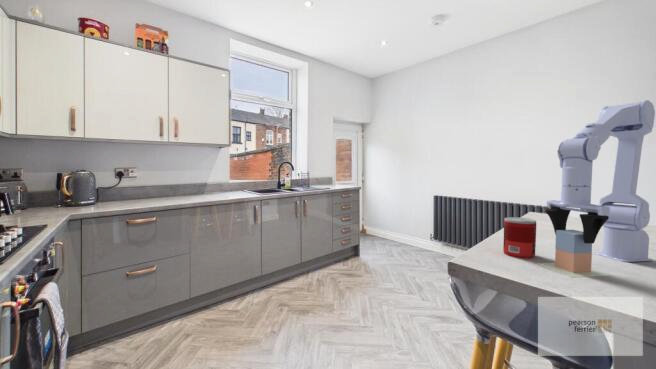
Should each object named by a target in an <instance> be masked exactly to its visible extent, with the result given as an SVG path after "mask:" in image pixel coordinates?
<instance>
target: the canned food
mask: <svg viewBox="0 0 656 369" xmlns="http://www.w3.org/2000/svg"><path fill="white" fill-rule="evenodd" d="M536 242H537V220H535V219H533V218H527V217H519V216H518V217H516V216H512V217H511V216H509V217H504V220H503V248H502V249H503V250H502V252H503V254H504V255H506V256H508V257H513V258H519V259H534V258H535V256H536V248H537V246H536V244H537V243H536Z"/></svg>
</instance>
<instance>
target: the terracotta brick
mask: <svg viewBox="0 0 656 369" xmlns="http://www.w3.org/2000/svg"><path fill="white" fill-rule="evenodd" d="M592 256H593V252H592V253H580V254H573V253H570V252H566V251H563V250H560V249H556V248H555V256H554V259H555V260H554V263H555V266H556V267H559V268H561V269H564V270H567V271H569V272H572V273H581V272H591V268H592V259H593V257H592Z"/></svg>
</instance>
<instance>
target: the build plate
mask: <svg viewBox="0 0 656 369" xmlns="http://www.w3.org/2000/svg"><path fill="white" fill-rule="evenodd" d="M536 264H537V265H539V266H541V267H544V268H547V269H549V270H552V271H554V272H557V273H560V274H563V275H565V276H568V277H570V278H586V277H587V278H590V277H605V276H612V274H611V273H607V272H606V271H605V272H604V271H603V270H602V271H601V270H598V269H596V268H593V267H591V272H581V273H572V272H569V271H567V270H564V269H561V268H559V267H556V266H555V262H541V263H540V262H539V263H536Z"/></svg>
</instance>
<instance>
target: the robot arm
mask: <svg viewBox="0 0 656 369" xmlns="http://www.w3.org/2000/svg"><path fill="white" fill-rule="evenodd" d="M655 116H656V111H655V106H654V104H653V102H651V101H650V100H648V99H646V100H643V101H635V102H632V103H631V102H629V103H624V104H617V105H610V106H607V105H606V106H603V107H602V109H600V110H599V114H598V120H597V121H596V122H591V123H587V124H585V126H584V127H583V128H582V129H581V130H580V131H579V132H578V133H576V134H575V135H574V136H573V137H572V138H567V139H565V140H563V141H561V142H560V144H559V145H558V147H557V148H558V149H557V156H558V159H559V166H560V168H561V171H562V172H561V188H560V189H561V192H560V196H561V197H560V200H556V199H555V200H554V199H551V200H549V199H547V200H546V209H545V213H546V214H547V216H548V217H549V219H550V221H551V225H552V227H553V231H554V234H555V236H556V230H567V223H568V222H567V221H568V219H569V216H570V213H571V211H573V212H578V213H580V214H579V218H580V220H581V224H582V232H583V240H584V243H587V244H589V243H592V244H595V241H596V239H597V236H598V235H599V232H600V230H601V229H602V227H603V236H602V238H603V239H602V251H601V252H600V251H598V252H597V251H594V252H593V255H597V256H600V257H604V258H608V259H610V260H615V261H618V262H623V263H632V262H633V263H635V262H651V261H653V259H652V258H649V248H650V247H649V246H650V245H649V244H650V238H649V234H648V233H647V232H646V230H644V229H645V228H646V227H648V224H649V223H650V218H651V214H650V203H649V202H648V201H647V200H646V199H644V198H642V197H641V196H640V195H638V194H637V188H638V180H639V171H640V165H641V158H642V148H643V144H644V137H645V136H646V135H648V134H650V133H652V132H653V128H654V123H655ZM610 137H614V138H617V140H618V142H617V149H616V150H617V151H616V159H615V164H614V174H613V180H612V181H613V182H612V189H611V192H610V193H608V194H607V195H605V196H603V197H601V198H600V200H599V203H598V204H593V203H591V202H592V184H593V183H592V180H593V161H594V160H597V158H598V156H599V153H600V150H601V146H602V145H604V144H605V143H606V141H608V139H609V138H610Z"/></svg>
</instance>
